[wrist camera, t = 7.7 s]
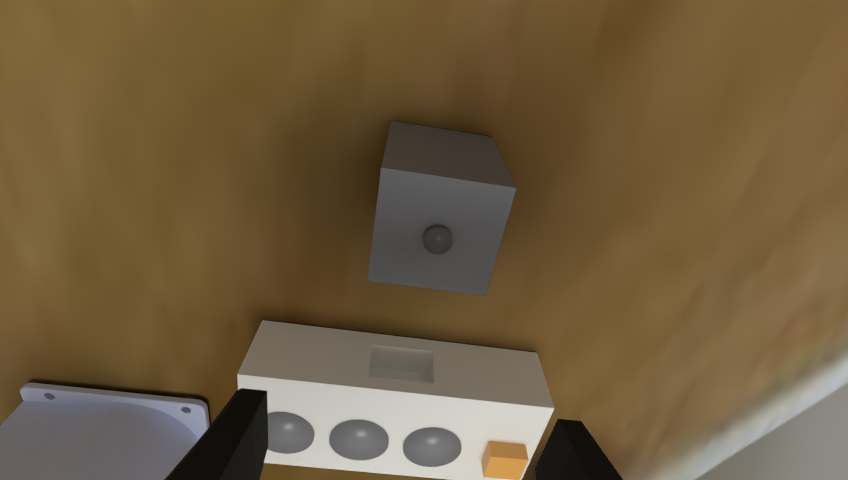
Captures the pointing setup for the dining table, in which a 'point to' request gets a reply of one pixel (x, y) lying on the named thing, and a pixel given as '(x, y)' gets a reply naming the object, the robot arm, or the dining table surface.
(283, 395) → the power strip
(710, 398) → the dining table surface
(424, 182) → the block
